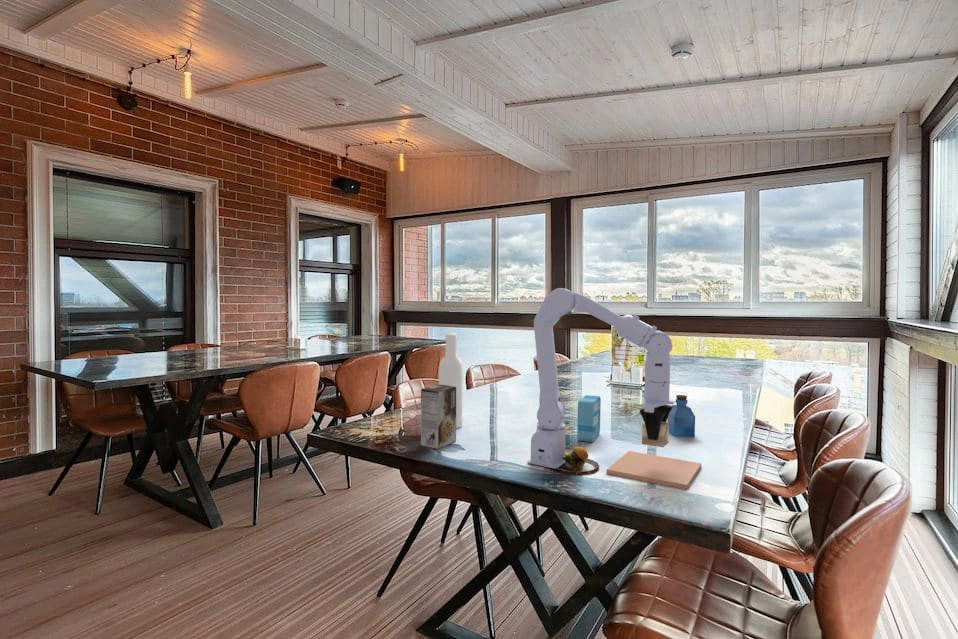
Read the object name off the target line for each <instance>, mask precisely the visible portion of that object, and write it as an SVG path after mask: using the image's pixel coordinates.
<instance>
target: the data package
mask: <svg viewBox="0 0 958 639" xmlns="http://www.w3.org/2000/svg"><path fill="white" fill-rule="evenodd" d="M576 422H577V425H576V426H577V428H576V430H577V431H576V433H577V434H576V439H577V441H579V442H585V443H587V442H588V443H594V442H595V440H596V439H597V438H598V437H599V436H600V433H601V396H598V395H587V394H585V395H584V396H583V397H582V398H580V399H579V400H578V403H577V420H576Z"/></svg>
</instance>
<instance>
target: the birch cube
mask: <svg viewBox="0 0 958 639" xmlns="http://www.w3.org/2000/svg"><path fill="white" fill-rule="evenodd" d="M641 424H642V425H641V445H644V446H645V445H646V446H652V447H656V448H657V447H658V448H664V447H666V446H667V445H668V443H669V436H670V433H669V422H661V426H660V432H659V437H658V440H651V439H648V436H647V432H646V427H645V423H644V422H642V423H641Z"/></svg>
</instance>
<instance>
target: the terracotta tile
mask: <svg viewBox="0 0 958 639" xmlns="http://www.w3.org/2000/svg"><path fill="white" fill-rule="evenodd" d="M701 468H702V462H701V463H699V462H695V461H688V460H684V459H677V458H674V457H673V458H672V457H665V456H662V455H661V456H660V455H654V454H650V453H643V452H639V451H638V452H636V451H631V450H628V451H627V452H626V453H625V454H623V455H622V456H621V457H620V458H618V459H617V460H616V461H615V462H614V463H612V464H611V465H610V466H609V467H608V468H606V475H607V474H609V475H612V476H613V475H614V476H618V477H621V478H622V477H624V478H628V479H633V480H637V481H638V480H639V481H643V482H648V483H652V484H656V485H663V486H668V487H673V488H678V489H681V490H682V489H683V490H688V489H689V487H690V486H691V484H692V482H693V481H694V479H695V478H696V477H697V474H698V473H699V472H700V470H701Z"/></svg>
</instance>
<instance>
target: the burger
mask: <svg viewBox="0 0 958 639" xmlns="http://www.w3.org/2000/svg"><path fill="white" fill-rule="evenodd" d="M586 444H587V443H585V444H584V446H586ZM562 459H563V460H565V463H564V464H565V466H566V468H568V469H569V470H567V469H563V468H559V467H558V468H556V469H557V470H559V471H561V472H565V473H566V474H569V475H576V476H577V475H578V474H579V475H580V476H581V475H592V474H595V473H596V472H598V471H599V470H600V464H599V463H598V462H596V461H595V460H593V459H590V458H589V453H588V450H586V448H585V447H583V446H574V447H573V450H572V451H571V452H570V453H569V454H565V457H563V458H562ZM586 463H587V464H589V465H590V466H592V468H593V469H591V470H584V471H583V468H584V466H585V464H586ZM570 469H571V470H570ZM581 470H582V471H581Z"/></svg>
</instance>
